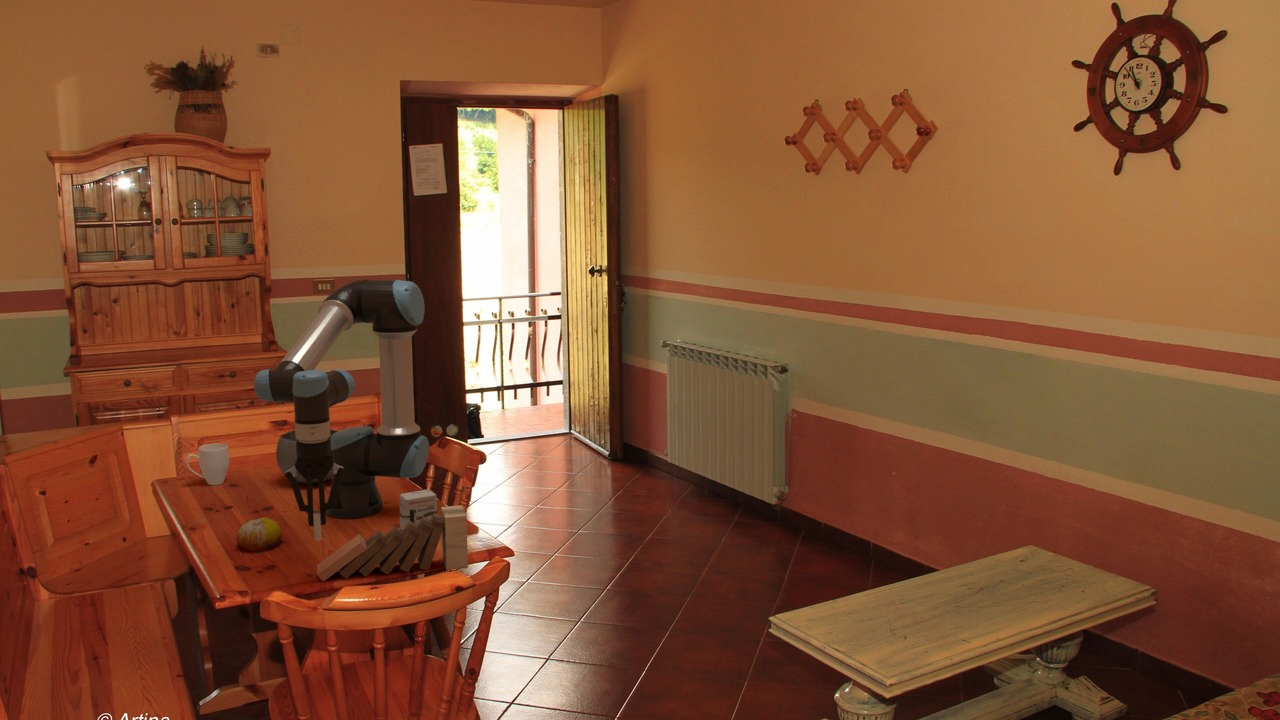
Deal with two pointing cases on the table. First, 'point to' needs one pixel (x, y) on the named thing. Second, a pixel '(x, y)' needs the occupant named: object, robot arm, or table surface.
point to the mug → (212, 462)
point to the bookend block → (454, 537)
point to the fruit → (259, 535)
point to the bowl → (292, 454)
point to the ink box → (417, 506)
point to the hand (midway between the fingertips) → (318, 538)
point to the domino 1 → (341, 557)
